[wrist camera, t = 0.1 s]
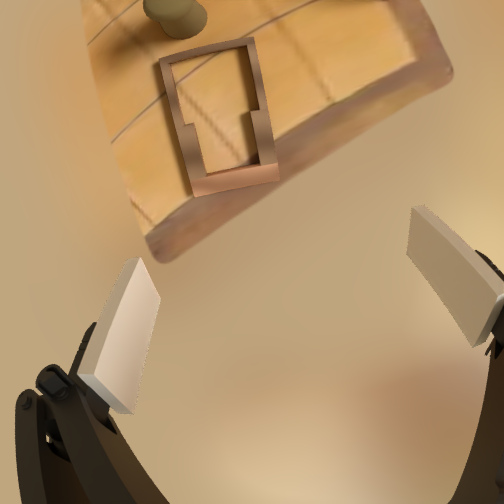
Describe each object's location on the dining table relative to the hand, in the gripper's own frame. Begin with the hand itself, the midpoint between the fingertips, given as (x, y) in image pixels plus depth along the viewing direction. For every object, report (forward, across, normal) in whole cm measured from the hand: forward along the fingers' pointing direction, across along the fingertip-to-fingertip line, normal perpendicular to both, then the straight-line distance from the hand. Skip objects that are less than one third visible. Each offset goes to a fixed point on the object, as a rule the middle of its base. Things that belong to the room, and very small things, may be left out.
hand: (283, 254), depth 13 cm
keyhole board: (+28, -3, +4) cm, 28 cm away
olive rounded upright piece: (+28, -5, +19) cm, 34 cm away
